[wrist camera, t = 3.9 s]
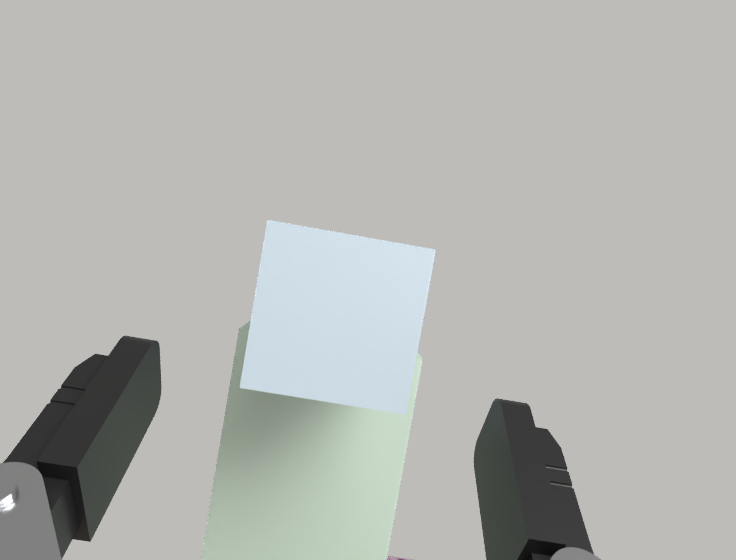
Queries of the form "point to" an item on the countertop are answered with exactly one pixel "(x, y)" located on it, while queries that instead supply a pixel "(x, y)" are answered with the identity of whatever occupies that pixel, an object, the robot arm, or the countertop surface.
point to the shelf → (304, 476)
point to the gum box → (396, 558)
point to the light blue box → (337, 317)
